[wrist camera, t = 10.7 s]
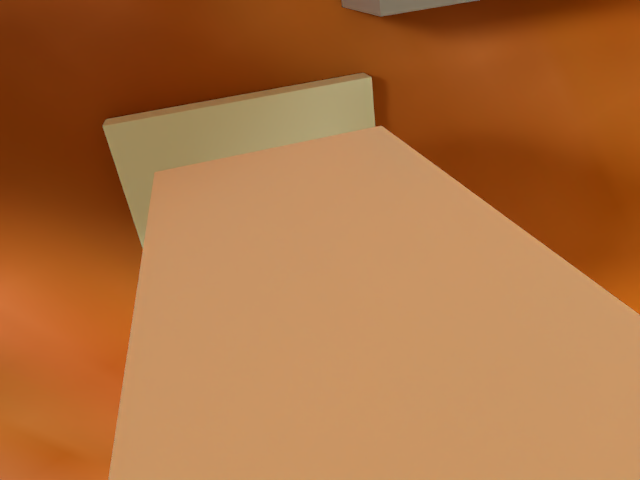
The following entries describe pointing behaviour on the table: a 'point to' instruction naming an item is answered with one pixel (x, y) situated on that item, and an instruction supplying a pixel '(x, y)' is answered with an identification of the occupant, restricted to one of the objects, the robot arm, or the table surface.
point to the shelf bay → (396, 5)
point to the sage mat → (231, 130)
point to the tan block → (365, 330)
